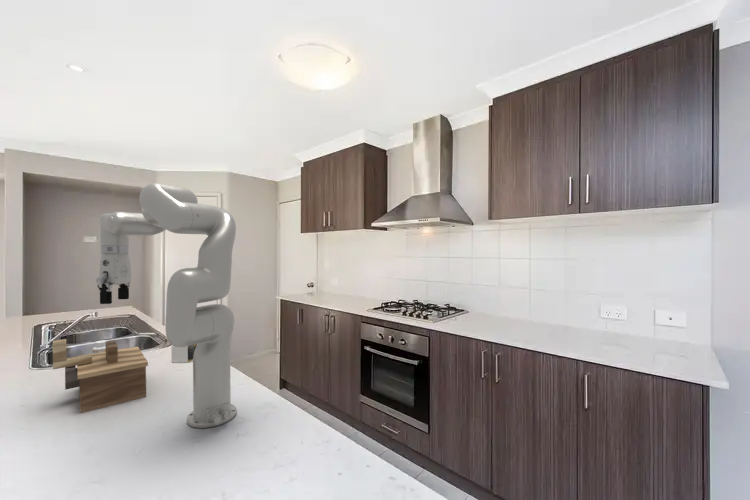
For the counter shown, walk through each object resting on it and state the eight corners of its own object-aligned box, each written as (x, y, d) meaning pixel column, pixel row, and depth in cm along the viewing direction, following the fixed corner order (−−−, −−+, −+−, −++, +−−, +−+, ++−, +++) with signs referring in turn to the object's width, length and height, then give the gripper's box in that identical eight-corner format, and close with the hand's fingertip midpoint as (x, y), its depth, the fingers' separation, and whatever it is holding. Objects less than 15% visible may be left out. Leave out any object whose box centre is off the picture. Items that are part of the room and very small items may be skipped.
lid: (147, 365, 110) (147, 346, 110) (77, 379, 98) (77, 357, 98) (137, 349, 127) (137, 333, 127) (77, 359, 116) (76, 341, 116)
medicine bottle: (188, 362, 142) (188, 334, 142) (171, 362, 142) (171, 334, 142) (197, 357, 149) (197, 329, 149) (181, 357, 149) (181, 329, 149)
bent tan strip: (91, 362, 108) (91, 337, 108) (52, 369, 102) (52, 342, 102) (91, 360, 110) (91, 335, 110) (53, 366, 104) (53, 340, 104)
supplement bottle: (104, 363, 141) (104, 339, 141) (113, 365, 139) (113, 340, 139) (89, 368, 136) (89, 342, 136) (98, 370, 134) (98, 343, 134)
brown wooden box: (146, 396, 110) (145, 362, 110) (64, 416, 97) (64, 377, 97) (136, 377, 126) (136, 347, 126) (66, 392, 113) (65, 359, 113)
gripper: (111, 251, 107) (111, 305, 107) (140, 250, 124) (140, 297, 124) (84, 250, 106) (84, 306, 106) (117, 250, 123) (118, 297, 123)
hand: (115, 301), depth 115 cm, fingers open, 9 cm apart
